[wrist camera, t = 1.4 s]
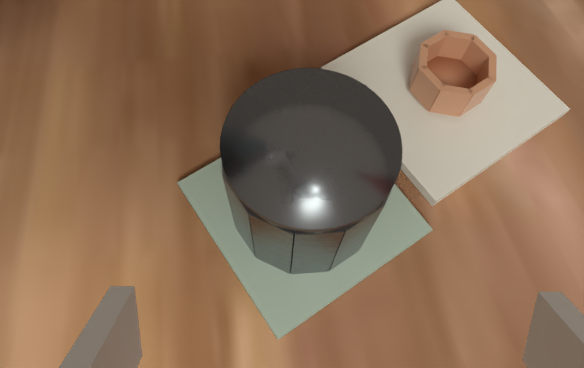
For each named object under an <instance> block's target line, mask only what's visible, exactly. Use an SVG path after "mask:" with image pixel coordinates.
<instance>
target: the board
mask: <svg viewBox="0 0 584 368" xmlns="http://www.w3.org/2000/svg"><path fill="white" fill-rule="evenodd" d="M443 30H449V31H455V32H462V33H468V34H474V36H475V35H476V36H477V37H478V38H479V39H480V40H481V41H482V42H483V43H484V44H485V45H486V46H487V47H488V48H489V49H490V50H491V51H493V52H494V53H495V54H496V56H497V64H496V82H495V83H494V85H493V86H492V87H491V89H490V90H489V92H488V93H487V95H486V96H485V98H484V99H483V100H482V102H481V103H480V104H478V105H477V106H475V107H474V108H472V109H471V110H469V111H467V112H466V113H464V114H463V115H461V116H460V117H456V116H451V115H445V114H439V113H433V112H429V111H427V109H426V108H425V107H424V106H423V105H422V104H421V103H420V102H419V101H418V100H417V99H416V98H415V96H414V95H413V94H412V93H411V92H410V91H409V86H410V76H411V67H412V64H413V62H414V60H415V57H416V55H417V52H418V50H419V47H420V45H421V43H422V42H424V41H426V40H427V39H429V38H431V37H432V36H434V35H436V34H438V33H439V32H441V31H443ZM321 69H326V70H331V71H335V72H338V73H341V74H344V75H347V76H349V77H351V78H354V79H356V80H358V81H359V82H361V83H363V84H364V85H366V86H367V87H368V88H370V89H371V90H372V91H374V92H375V93H376V94H377V95H378V96H379V97H380V98H381V99H382V100H383V101H384V103H385V104H386V105H387V107H388V108H389V109H390V111H391V113H392V114H393V116H394V118H395V120H396V123H397V125H398V127H399V131H400V135H401V140H402V162H401V163H402V165H401V170H402V171H403V173H404V174H405V175H406V176H407V177H408V178H409V180H410V181H411V182H412V183H413V184H414V186H415V187H416V188H417V189H418V190H419V191H420V193H421V194H422V195H423V196H424V197H425V198H426V200H427V201H428V202H429V203H430V204H431V206H434V205H435V204H436V203H438V202H439V201H441V200H442V199H444V198H445V197H447V196H448V195H449V194H451V193H452V192H454V191H455V190H457V189H458V188H460V187H461V186H462V185H464V184H465V183H467V182H468V181H470V180H471V179H472V178H474V177H475V176H477V175H478V174H480V173H481V172H483V171H484V170H485V169H487V168H488V167H490V166H491V165H493V164H494V163H496V162H497V161H498V160H500V159H501V158H503V157H504V156H506V155H507V154H509V153H510V152H511V151H513V150H514V149H516V148H517V147H519V146H520V145H522V144H523V143H524V142H526V141H527V140H529V139H530V138H532V137H533V136H535V135H536V134H537V133H539V132H540V131H542V130H543V129H545V128H546V127H548V126H549V125H550V124H552V123H553V122H555V121H556V120H558V119H559V118H561V117H562V116H563V115H564V114H565V113H567V112H568V111H569V110H570V109H569V108H568V107H567V106H566V105H565V104H564V103H563V102H562V101H561V100H560V99H559V98H558V97H557V96H556V95H555V94H554V93H553V92H551V91H550V90H549V89H548V88H547V87H546V86H545V85H544V84H543V83H542V82H541V81H540V80H539V79H538V78H537V77H536V76H535V75H534V74H532V73H531V72H530V71H529V70H528V69H527V68H526V67H525V66H524V65H523V64H522V63H521V62H520V61H519V60H518V59H517V58H516V57H515V56H513V55H512V54H511V53H510V52H509V51H508V50H507V49H506V48H505V47H504V46H503V45H502V44H501V43H500V42H499V41H498V40H497V39H495V38H494V37H493V36H492V35H491V34H490V33H489V32H488V31H487V30H486V29H485V28H484V27H483V26H482V25H481V24H480V23H479V22H478V21H476V20H475V19H474V18H473V17H472V16H471V15H470V14H469V13H468V12H467V11H466V10H465V9H464V8H463V7H462V6H461V5H460V4H459V3H457V2H456V1H455V0H441V1H439V2H438V3H436V4H434V5H432V6H430V7H429V8H427V9H425V10H423V11H421V12H420V13H418V14H416V15H414V16H412V17H411V18H409V19H407V20H405V21H403V22H402V23H400V24H398V25H396V26H394V27H393V28H391V29H389V30H387V31H385V32H384V33H382V34H380V35H378V36H376V37H375V38H373V39H371V40H369V41H367V42H366V43H364V44H362V45H360V46H358V47H357V48H355V49H353V50H351V51H349V52H348V53H346V54H344V55H342V56H340V57H339V58H337V59H335V60H333V61H331V62H329V63H328V64H326V65H324V66H322V67H321Z"/></svg>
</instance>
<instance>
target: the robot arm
mask: <svg viewBox="0 0 584 368" xmlns="http://www.w3.org/2000/svg"><path fill="white" fill-rule="evenodd" d="M141 357H142V349H141V340H140V331H139V322H138V314H137V305H136V296H135V287H134V286H110V288H109V290H108V291H107V293H106V294H105V296H104V297H103V299H102V301H101V302H100V304H99V305H98V307H97V309H96V310H95V312H94V313H93V315H92V316H91V318H90V320H89V321H88V323H87V324H86V326H85V327H84V329H83V331H82V332H81V334H80V335H79V337H78V338H77V340H76V342H75V343H74V345H73V346H72V348H71V350H70V351H69V353H68V354H67V356H66V357H65V359H64V361H63V362H62V364H61V365H60V367H59V368H137V367H138V365H139V362H140V360H141ZM522 360H523V362H524V363H525V365H526V366H527V368H584V315H583V314H582V313H581V312H580V311H579V310H578V309H577V308H576V307H575V306H574V305H573V304H572V302H571V301H570V300H569V299H568V298H567V297H566V296H565V295H564V294H563V293H562V292H538V295H537V299H536V303H535V308H534V312H533V316H532V321H531V325H530V329H529V334H528V338H527V342H526V347H525V351H524V355H523V359H522Z"/></svg>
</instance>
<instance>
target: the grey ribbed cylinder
mask: <svg viewBox="0 0 584 368" xmlns="http://www.w3.org/2000/svg"><path fill="white" fill-rule="evenodd" d="M220 153H221V160H222V177H223V181H224V185H225V189H226V193H227V197H228V201H229V204H230V208H231V212H232V216H233V220H234V224H235V228H236V229H237V231H238V232H239V234H240V235H241V237H242V238H243V240H244V241H245V243H246V244H247V246H248V247H249V249H250V250H251V252H252V253H253V255H254V256H255V257H256V258H257V259H259V260H261V261H263V262H265V263H267V264H269V265H272V266H274V267H276V268H278V269H280V270H282V271H284V272H286V273H288V274H290V272H291V274H304V273H318V272H328V271H330V270H332V269H333V268H335V267H336V266H338V265H339V264H341V263H342V262H344V261H345V260H346V259H348V258H349V257H351V256H352V255H354V254H355V253H357V252H358V251H359V250H360V248H361V247H362V245H363V243H364V241H365V239H366V238H367V236H368V234H369V232H370V231H371V229H372V227H373V225H374V224H375V222H376V220H377V218H378V216H379V215H380V213H381V211H382V209H383V208H384V206H385V204H386V201H387V199H388V197H389V194H390V192H391V190H392V187H393V185H394V183H395V182H396V180H397V177H398V174H399V171H400V169H401V165H402V163H401V162H402V140H401V135H400V131H399V127H398V125H397V123H396V120H395V118H394V116H393V114H392V113H391V111H390V109H389V108H388V107H387V105H386V104H385V103H384V101H383V100H382V99H381V98H380V97H379V96H378V95H377V94H376V93H375V92H374V91H372V90H371V89H370V88H368V87H367V86H366V85H364V84H363V83H361V82H359V81H358V80H356V79H354V78H351V77H349V76H347V75H344V74H341V73H338V72H335V71H331V70H326V69H318V68H299V69H291V70H286V71H282V72H279V73H276V74H273V75H270V76H268V77H266V78H264V79H262V80H260V81H259V82H257V83H255V84H254V85H252V86H251V87H250V88H249V89H247V90H246V91H245V92H244V93H243V94H242V95H241V96H240V97H239V98H238V99H237V100H236V102H235V103H234V105H233V106H232V107H231V109H230V111H229V113H228V115H227V117H226V119H225V122H224V125H223V128H222V133H221V138H220Z"/></svg>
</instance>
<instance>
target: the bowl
mask: <svg viewBox="0 0 584 368" xmlns="http://www.w3.org/2000/svg"><path fill="white" fill-rule="evenodd" d="M496 64H497V56H496V54H495V53H494V52H493V51H491V50H490V49H489V48H488V47H487V46H486V45H485V44H484V43H483V42H482V41H481V40H480V39H479V38H478V37H477V36H476V35H475V36H474V34H468V33H462V32H455V31H449V30H443V31H441V32H439V33H438V34H436V35H434V36H432V37H431V38H429V39H427V40H426V41H424V42H422V43H421V45H420V47H419V50H418V52H417V55H416V57H415V60H414V62H413V64H412V67H411V76H410V86H409V91H410V92H411V93H412V94H413V95H414V96H415V98H416V99H417V100H418V101H419V102H420V103H421V104H422V105H423V106H424V107H425V108H426V109H427V111H429V112H433V113H439V114H445V115H451V116H456V117H460V116H461V115H463V114H464V113H466V112H467V111H469V110H471V109H472V108H474V107H475V106H477V105H478V104H480V103H481V102H482V100H483V99H484V98H485V96H486V95H487V93H488V92H489V90H490V89H491V87H492V86H493V85H494V83H495V82H496Z"/></svg>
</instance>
